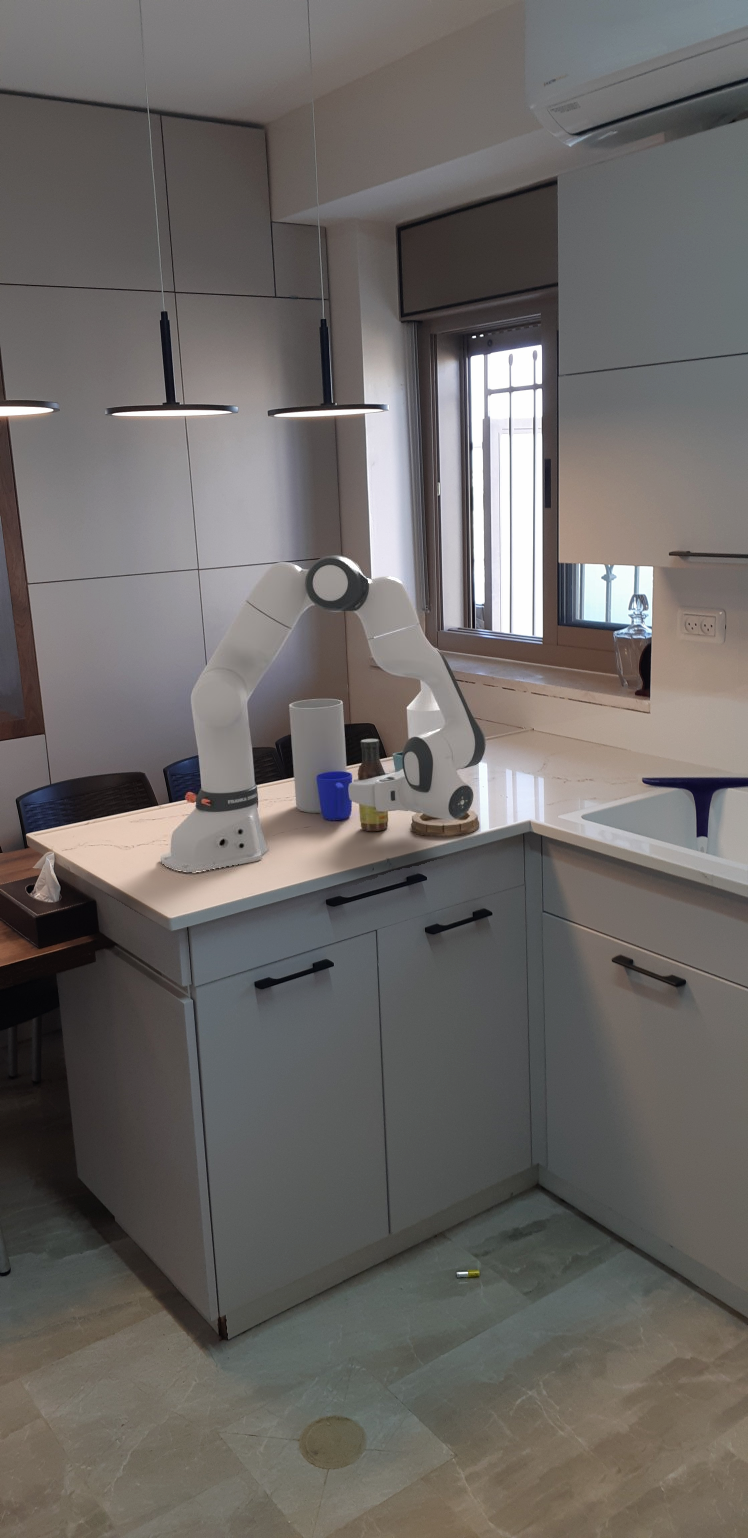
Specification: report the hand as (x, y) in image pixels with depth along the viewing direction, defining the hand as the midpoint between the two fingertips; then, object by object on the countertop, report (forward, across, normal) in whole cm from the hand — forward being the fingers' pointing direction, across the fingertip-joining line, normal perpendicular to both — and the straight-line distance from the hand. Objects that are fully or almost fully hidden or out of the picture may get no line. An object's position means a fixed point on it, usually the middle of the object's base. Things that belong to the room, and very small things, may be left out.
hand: (369, 779), depth 254 cm
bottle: (+34, -48, +11) cm, 60 cm away
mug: (+11, +1, +11) cm, 16 cm away
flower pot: (+19, -30, +11) cm, 37 cm away
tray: (-12, -11, +11) cm, 20 cm away
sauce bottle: (-1, 0, +11) cm, 11 cm away
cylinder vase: (+23, -3, +11) cm, 26 cm away
